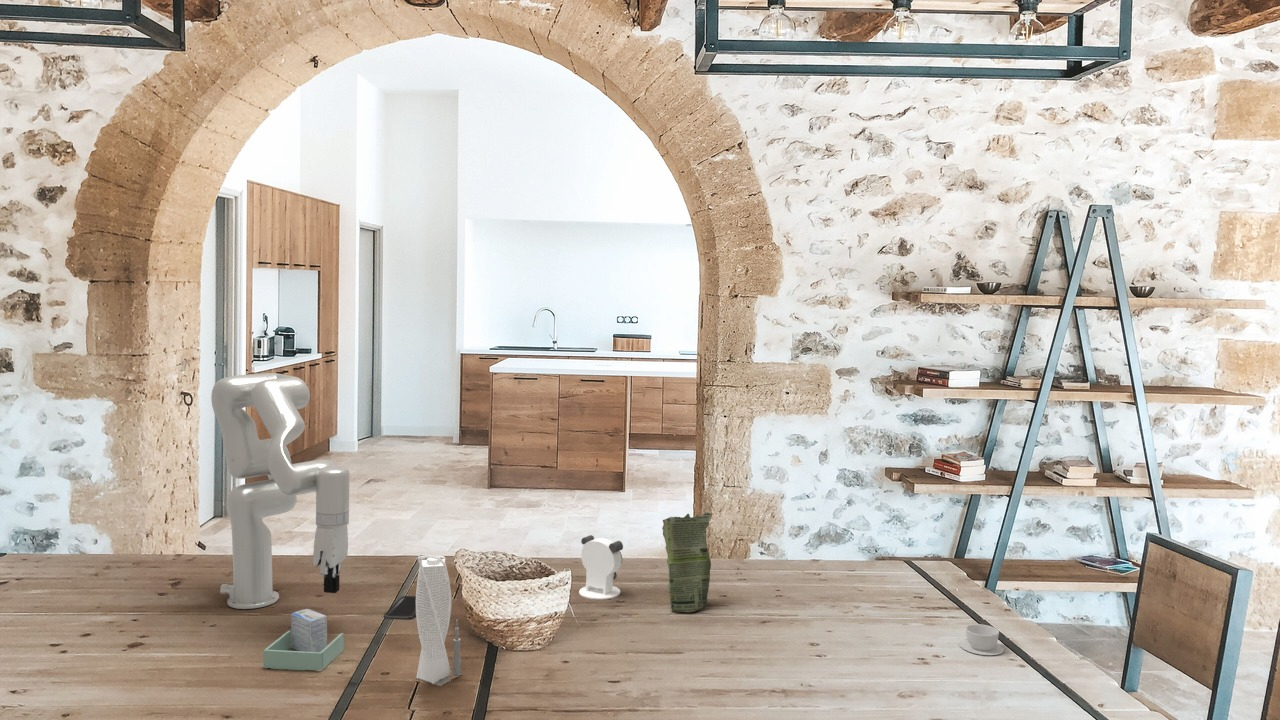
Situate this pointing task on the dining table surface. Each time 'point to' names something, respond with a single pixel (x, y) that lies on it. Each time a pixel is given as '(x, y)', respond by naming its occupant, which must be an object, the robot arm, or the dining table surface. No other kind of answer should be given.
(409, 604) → the phone
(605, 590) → the panda figurine
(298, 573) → the dining table surface
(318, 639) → the medicine box
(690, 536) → the pouch
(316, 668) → the box
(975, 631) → the teacup
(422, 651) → the skyscraper
